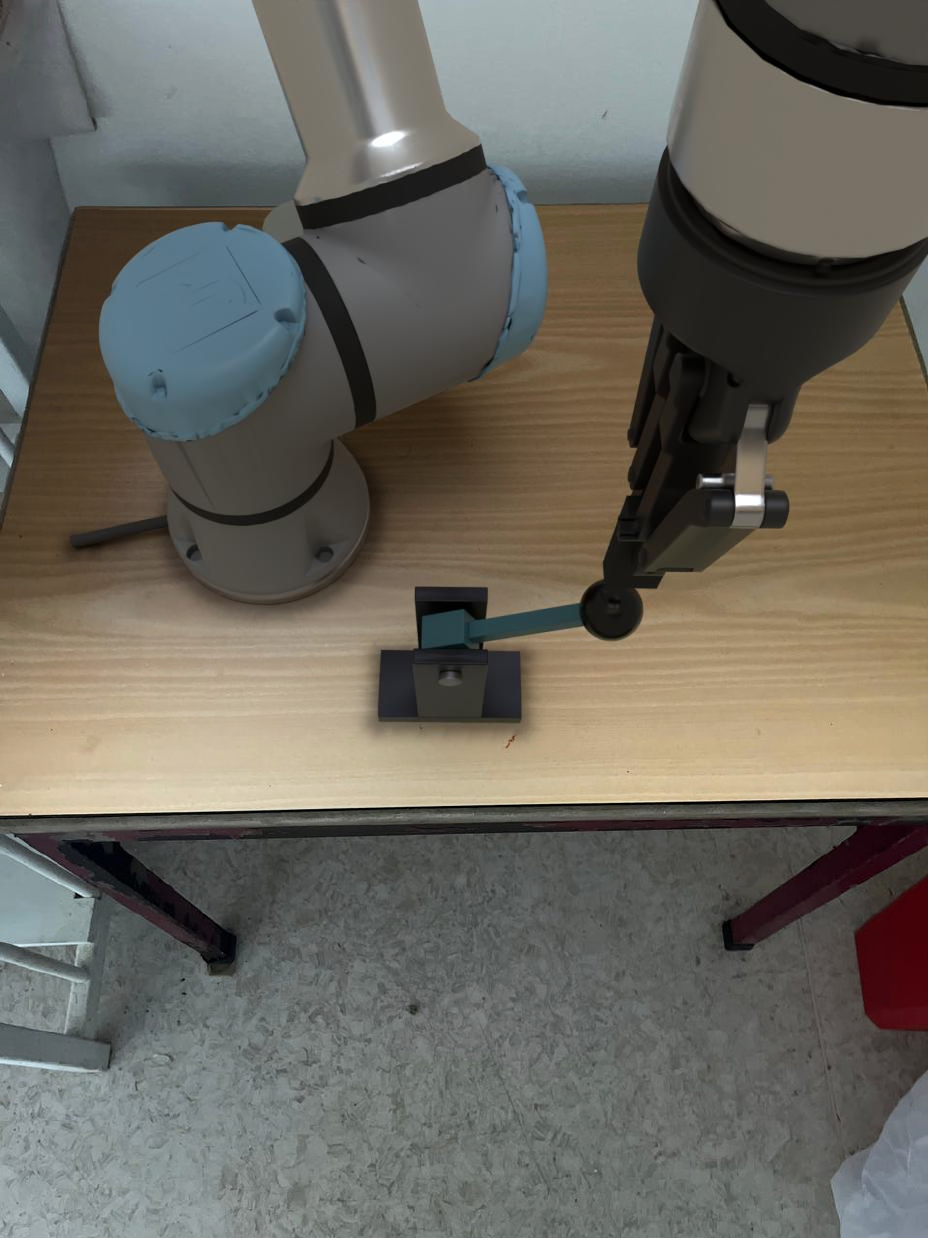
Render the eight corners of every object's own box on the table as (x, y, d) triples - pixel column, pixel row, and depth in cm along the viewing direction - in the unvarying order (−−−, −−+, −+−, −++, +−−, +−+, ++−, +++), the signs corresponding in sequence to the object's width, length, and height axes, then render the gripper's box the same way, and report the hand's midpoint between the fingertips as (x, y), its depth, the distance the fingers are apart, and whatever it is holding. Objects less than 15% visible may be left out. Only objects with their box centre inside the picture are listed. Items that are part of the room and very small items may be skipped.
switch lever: (647, 588, 50) (632, 562, 47) (652, 645, 48) (637, 622, 45) (443, 623, 54) (417, 601, 51) (442, 676, 53) (416, 657, 50)
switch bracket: (518, 650, 62) (533, 580, 51) (520, 730, 60) (536, 673, 49) (382, 649, 62) (368, 577, 51) (378, 728, 60) (363, 671, 49)
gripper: (1013, 371, 20) (716, 696, 41) (899, 14, 25) (689, 469, 46) (688, 366, 19) (562, 695, 41) (643, 9, 25) (552, 467, 46)
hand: (629, 575), depth 44 cm, fingers closed
